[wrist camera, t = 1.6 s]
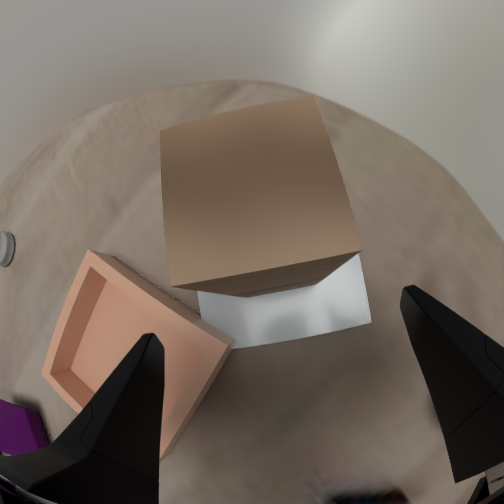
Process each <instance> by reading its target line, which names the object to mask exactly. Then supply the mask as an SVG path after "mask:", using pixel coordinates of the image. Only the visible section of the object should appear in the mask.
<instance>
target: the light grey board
mask: <svg viewBox="0 0 504 504" xmlns="http://www.w3.org/2000/svg"><path fill="white" fill-rule="evenodd" d="M197 293H198V300H199V306H200V313H201V319H202V320H204V321H206V322H207V323H209V324H210V325H212V326H214V327H215V328H217V329H219V330H220V331H222V332H224V333H225V334H227V335H229V336H230V337H232V338H234V339H236V341H235V343H234V345H233V347H232V348H231V349H238V348H245V347H252V346H259V345H265V344H271V343H277V342H283V341H289V340H294V339H300V338H305V337H310V336H315V335H320V334H325V333H329V332H334V331H338V330H343V329H347V328H351V327H356V326H360V325H364V324H368V323H372V322H371V315H370V309H369V304H368V298H367V293H366V288H365V282H364V277H363V273H362V268H361V263H360V259H359V254H356V255H355V256H354V257H352V258H351V259H350V260H349V261H347V262H346V263H345V264H343V265H342V266H341V267H339V268H338V269H337V270H335V271H334V272H333V273H331V274H330V275H329V276H327V277H326V278H325V279H323V280H322V281H321V282H319V283H318V284H316V285H312V286H307V287H302V288H297V289H292V290H287V291H281V292H276V293H271V294H265V295H259V296H254V297H248V298H244V297H236V296H229V295H222V294H215V293H209V292H202V291H197Z"/></svg>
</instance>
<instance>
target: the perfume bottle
mask: <svg viewBox="0 0 504 504" xmlns="http://www.w3.org/2000/svg"><path fill="white" fill-rule="evenodd" d="M48 445H49V442H48V439H47V436H46V433H45V430H44V427H43V424H42V421H41V418H40V415H39V414H38V413H36V412H33V411H31V410H28V409H25V408H23V407H20V406H17V405H14V404H12V403H9V402H6V401H4V400H1V399H0V452H4V453H7V454H10V455H17V454H21V453H26V452H30V451H34V450H38V449H41V448H44V447H47V446H48Z"/></svg>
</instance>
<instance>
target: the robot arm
mask: <svg viewBox="0 0 504 504" xmlns="http://www.w3.org/2000/svg"><path fill="white" fill-rule="evenodd" d="M400 309H401V312H402V315H403V318H404V322H405V325H406V328H407V331H408V335H409V338H410V341H411V345H412V347H413V350H414V352H415V355H416V357H417V360H418V362H419V365H420V367H421V370H422V373H423V375H424V378H425V381H426V384H427V386H428V389H429V392H430V395H431V398H432V401H433V404H434V407H435V410H436V413H437V416H438V419H439V422H440V426H441V429H442V432H443V436H444V438H445V439H444V440H445V444H446V447H447V451H448V455H449V459H450V463H451V468H452V472H453V477H454V481H455V483H458V482H460V481H463V480H465V479H468V478H470V477H473V476H475V475H477V474H480V473H482V472H484V471H485V474H486V476H484V477H483V478H481V479H480V480H479V482H478V484H477V486H476V488H475V490H474V492H473V494H472V496H471V498H470V500H469V501H468V503H467V504H504V347H502V346H501V345H499V344H498V343H497V342H495V341H494V340H493V339H491V338H490V337H489V336H487V335H486V334H485V335H484V333H483V332H482V331H480V330H479V329H478V328H476V327H475V326H473V325H472V324H471V323H469V322H468V321H467V320H465V319H464V318H462V317H461V316H460V315H458V314H457V313H455V312H454V311H452V310H451V309H450V308H448V307H447V306H445V305H444V304H442V303H441V302H439V301H438V300H436V299H435V298H433V297H432V296H430V295H429V294H427V293H426V292H424V291H423V290H421V289H420V288H418V287H417V286H415V285H409V286H406V287H404V288H403V290H402V295H401V300H400ZM164 390H165V349H164V346H163V344H162V343H161V341H160V340H159V339H158V337H157V336H156V334H155V333H145V334H143V335H142V336H141V337H140V338H139V340H138V341H137V342H136V343H135V344H134V346H133V347H132V348H131V349H130V351H129V352H128V353H127V354H126V355H125V357H124V358H123V359H122V360H121V362H120V363H119V364H118V365H117V367H116V368H115V369H114V370H113V372H112V373H111V374H110V375H109V377H108V378H107V379H106V380H105V382H104V383H103V384H102V385H101V387H100V388H99V389H98V390H97V392H96V393H95V394H94V395H93V397H92V398H91V400H90V401H89V402H88V403H87V404H86V406H85V407H84V408H83V409H82V411H81V412H80V413H79V414H78V415H77V417H76V418H75V419H74V420H73V421H72V422H71V423H70V424H69V426H68V427H67V428H66V429H65V430H64V431H63V432H62V433H61V434H60V435H59V436H58V437H57V439H56V440H55V441H54V442H53V443H51V444H50V445H48V446H47V447H44V448H41V449H38V450H34V451H30V452H26V453H21V454H17V455H12V456H1V455H0V474H1V475H2V476H4V477H5V478H7V479H8V480H10V481H11V482H12V483H11V482H9V481H7V480H5V479H3V478H1V477H0V504H159V461H160V441H161V426H162V413H163V401H164ZM13 483H14V484H13Z"/></svg>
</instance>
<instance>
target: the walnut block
mask: <svg viewBox="0 0 504 504" xmlns="http://www.w3.org/2000/svg"><path fill="white" fill-rule="evenodd" d="M160 154H161V182H162V200H163V215H164V228H165V239H166V250H167V259H168V268H169V277H170V285H171V287H177V288H183V289H189V290H196V291H202V292H209V293H215V294H222V295H229V296H236V297H244V298H248V297H254V296H259V295H265V294H271V293H276V292H281V291H287V290H292V289H297V288H302V287H307V286H312V285H316V284H318V283H319V282H321V281H322V280H323V279H325V278H326V277H327V276H329V275H330V274H331V273H333V272H334V271H335V270H337V269H338V268H339V267H341V266H342V265H343V264H345V263H346V262H347V261H349V260H350V259H351V258H352V257H354V256H355V255H356V254H358V253H359V252H360V251H361V250H362V249H361V245H360V241H359V237H358V233H357V229H356V225H355V221H354V217H353V214H352V210H351V206H350V203H349V199H348V196H347V192H346V189H345V186H344V182H343V179H342V176H341V173H340V170H339V166H338V163H337V160H336V157H335V154H334V151H333V148H332V145H331V143H330V140H329V137H328V134H327V131H326V129H325V126H324V123H323V121H322V118H321V115H320V113H319V110H318V108H317V105H316V103H315V100H314V98H313V97H305V98H298V99H291V100H285V101H278V102H273V103H267V104H262V105H257V106H252V107H247V108H242V109H238V110H233V111H229V112H225V113H221V114H217V115H213V116H209V117H205V118H201V119H198V120H194V121H191V122H187V123H184V124H181V125H177V126H174V127H171V128H168V129H165V130H162V131H160Z"/></svg>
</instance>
